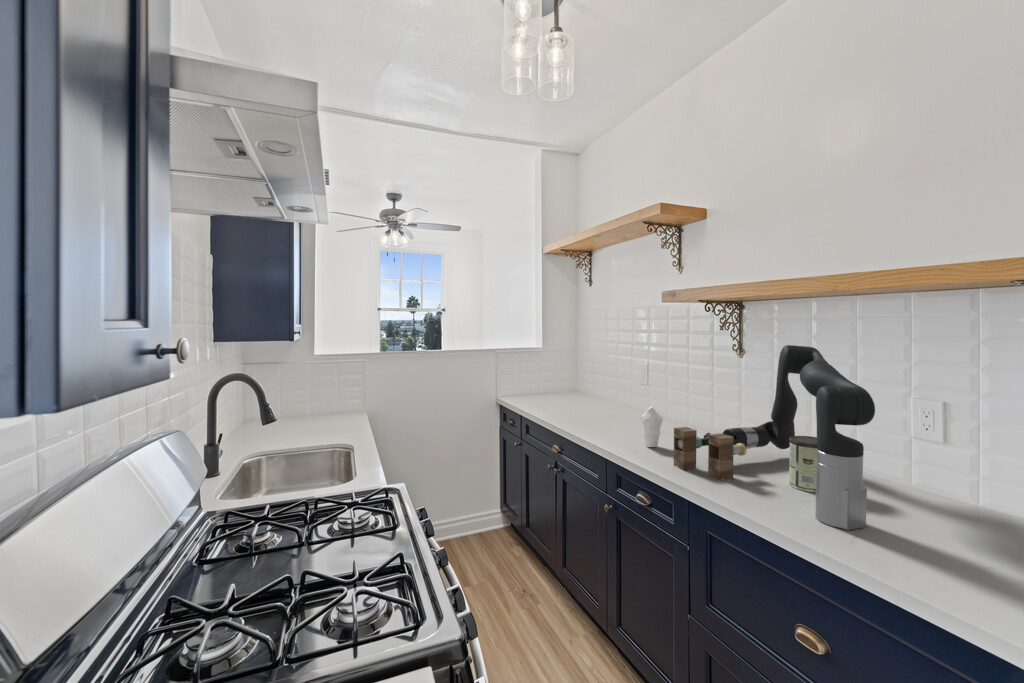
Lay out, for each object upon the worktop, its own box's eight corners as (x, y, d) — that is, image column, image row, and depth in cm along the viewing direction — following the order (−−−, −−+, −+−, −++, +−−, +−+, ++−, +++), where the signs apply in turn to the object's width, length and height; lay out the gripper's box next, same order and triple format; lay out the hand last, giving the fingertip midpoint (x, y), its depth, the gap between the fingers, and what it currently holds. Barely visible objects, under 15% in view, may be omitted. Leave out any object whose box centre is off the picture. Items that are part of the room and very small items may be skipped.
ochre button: (746, 456, 144) (746, 444, 143) (728, 458, 142) (728, 446, 141) (737, 453, 147) (737, 441, 147) (719, 455, 145) (719, 443, 145)
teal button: (701, 449, 152) (702, 438, 152) (684, 451, 150) (684, 439, 150) (694, 446, 156) (694, 435, 155) (677, 448, 154) (677, 437, 153)
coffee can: (819, 481, 138) (820, 436, 137) (836, 494, 128) (838, 445, 127) (782, 479, 140) (783, 434, 139) (796, 491, 130) (797, 443, 129)
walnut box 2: (733, 478, 142) (733, 437, 141) (719, 479, 140) (720, 438, 140) (721, 472, 147) (721, 433, 146) (708, 474, 145) (708, 434, 145)
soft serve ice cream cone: (644, 442, 183) (645, 403, 183) (665, 445, 178) (665, 405, 178) (637, 447, 177) (637, 406, 176) (658, 450, 172) (659, 409, 171)
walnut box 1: (696, 468, 151) (696, 430, 150) (683, 470, 149) (683, 431, 149) (686, 464, 156) (686, 426, 155) (673, 465, 154) (673, 427, 154)
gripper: (726, 423, 165) (685, 427, 160) (755, 432, 152) (711, 436, 147) (726, 444, 165) (685, 448, 160) (754, 454, 152) (711, 459, 147)
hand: (698, 442), depth 154 cm, fingers closed
